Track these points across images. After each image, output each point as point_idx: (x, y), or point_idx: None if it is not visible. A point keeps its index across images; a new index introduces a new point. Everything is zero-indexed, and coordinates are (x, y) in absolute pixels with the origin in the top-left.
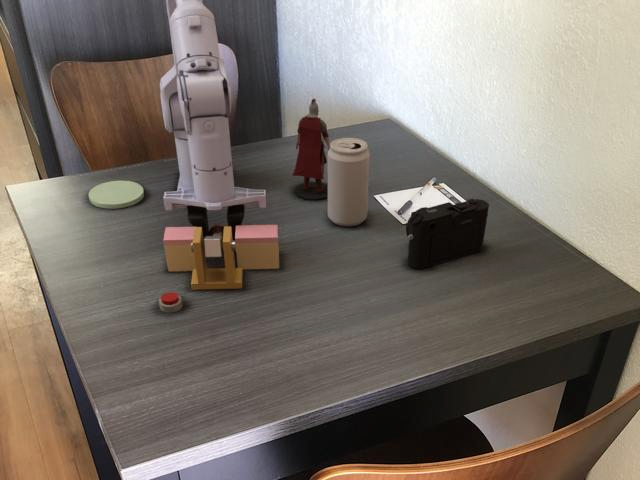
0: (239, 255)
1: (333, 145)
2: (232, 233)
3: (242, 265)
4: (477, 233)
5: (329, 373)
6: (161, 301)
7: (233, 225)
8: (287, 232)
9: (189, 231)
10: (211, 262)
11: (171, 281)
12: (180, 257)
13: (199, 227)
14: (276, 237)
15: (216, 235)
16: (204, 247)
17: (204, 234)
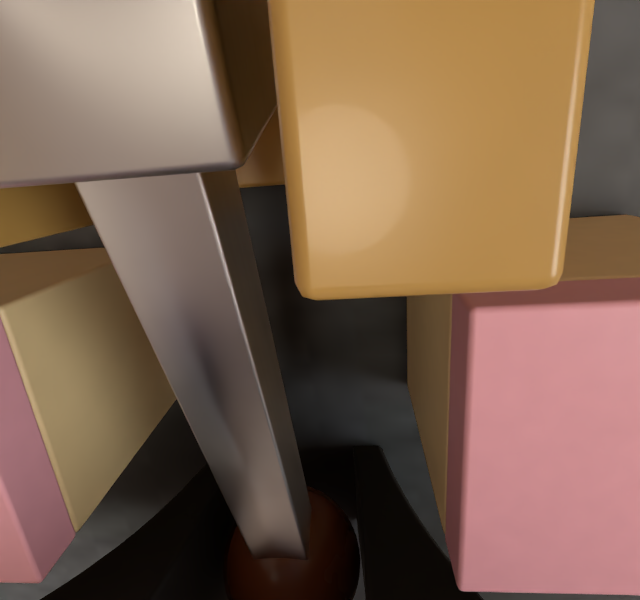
0: (67, 269)
1: None
2: (164, 535)
3: (106, 253)
4: None
5: None
6: None
7: (99, 598)
8: (5, 589)
9: (545, 500)
10: (335, 334)
11: (610, 72)
12: (579, 242)
13: (377, 261)
14: None
15: (249, 476)
16: (388, 464)
17: (382, 535)
